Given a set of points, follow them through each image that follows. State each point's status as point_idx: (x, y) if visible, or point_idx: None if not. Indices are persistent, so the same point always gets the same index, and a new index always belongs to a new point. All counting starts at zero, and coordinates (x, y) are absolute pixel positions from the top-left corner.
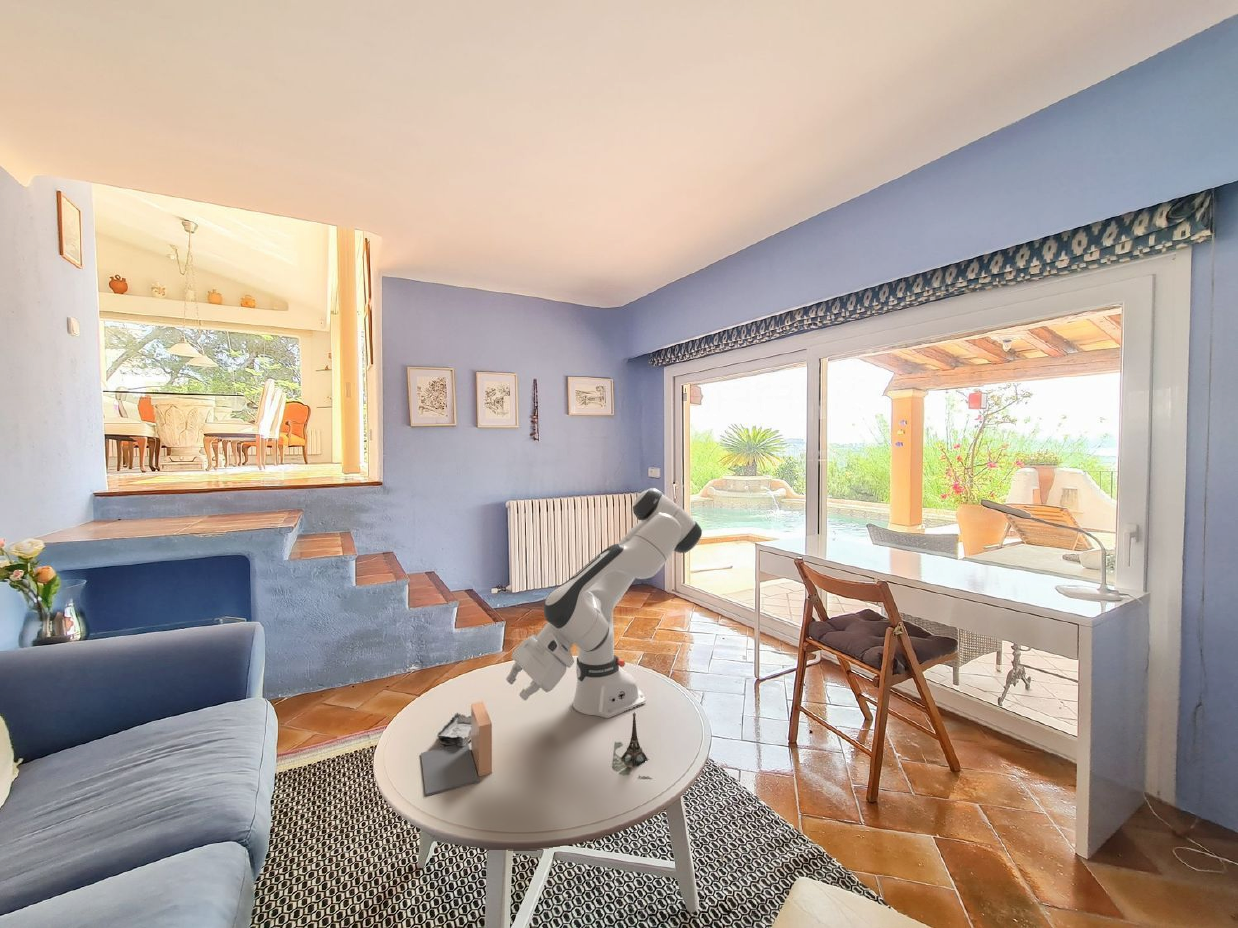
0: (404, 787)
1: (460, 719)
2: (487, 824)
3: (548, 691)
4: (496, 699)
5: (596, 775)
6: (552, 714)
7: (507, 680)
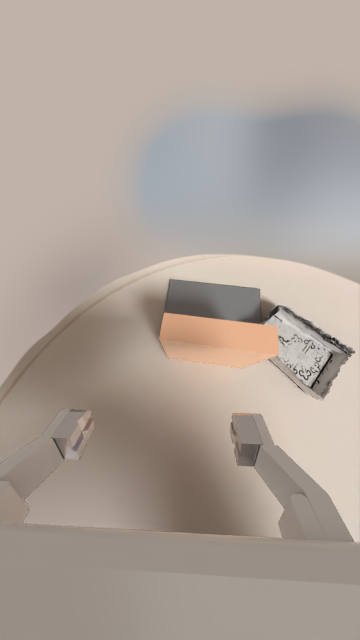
0: (199, 266)
1: (339, 357)
2: (81, 323)
3: None
4: None
5: None
6: None
7: (239, 413)
